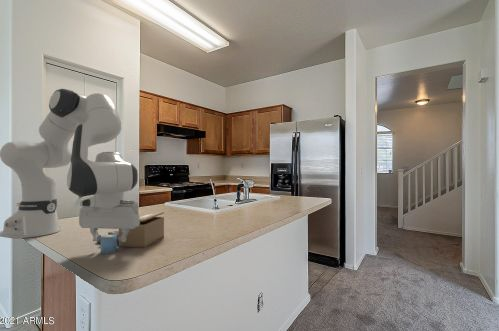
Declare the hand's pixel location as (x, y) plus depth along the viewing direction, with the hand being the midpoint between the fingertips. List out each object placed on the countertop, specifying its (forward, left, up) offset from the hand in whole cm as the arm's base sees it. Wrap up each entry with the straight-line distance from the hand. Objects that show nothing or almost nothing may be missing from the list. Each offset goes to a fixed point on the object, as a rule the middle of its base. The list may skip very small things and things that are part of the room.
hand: (109, 241), depth 84 cm
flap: (+5, +12, +6) cm, 14 cm away
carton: (+5, +12, -3) cm, 13 cm away
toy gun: (-6, +17, -4) cm, 19 cm away
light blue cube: (0, 0, -3) cm, 3 cm away
